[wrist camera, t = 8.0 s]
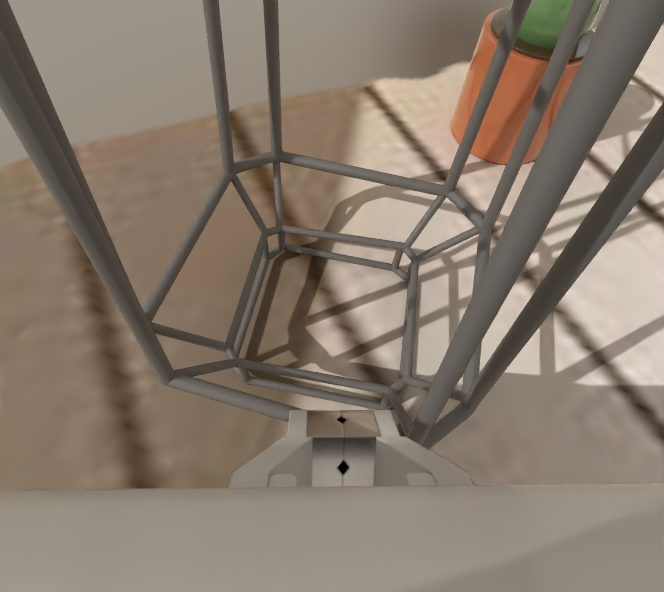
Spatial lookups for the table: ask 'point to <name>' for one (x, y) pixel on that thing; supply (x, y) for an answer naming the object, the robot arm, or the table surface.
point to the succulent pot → (518, 78)
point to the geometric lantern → (490, 275)
